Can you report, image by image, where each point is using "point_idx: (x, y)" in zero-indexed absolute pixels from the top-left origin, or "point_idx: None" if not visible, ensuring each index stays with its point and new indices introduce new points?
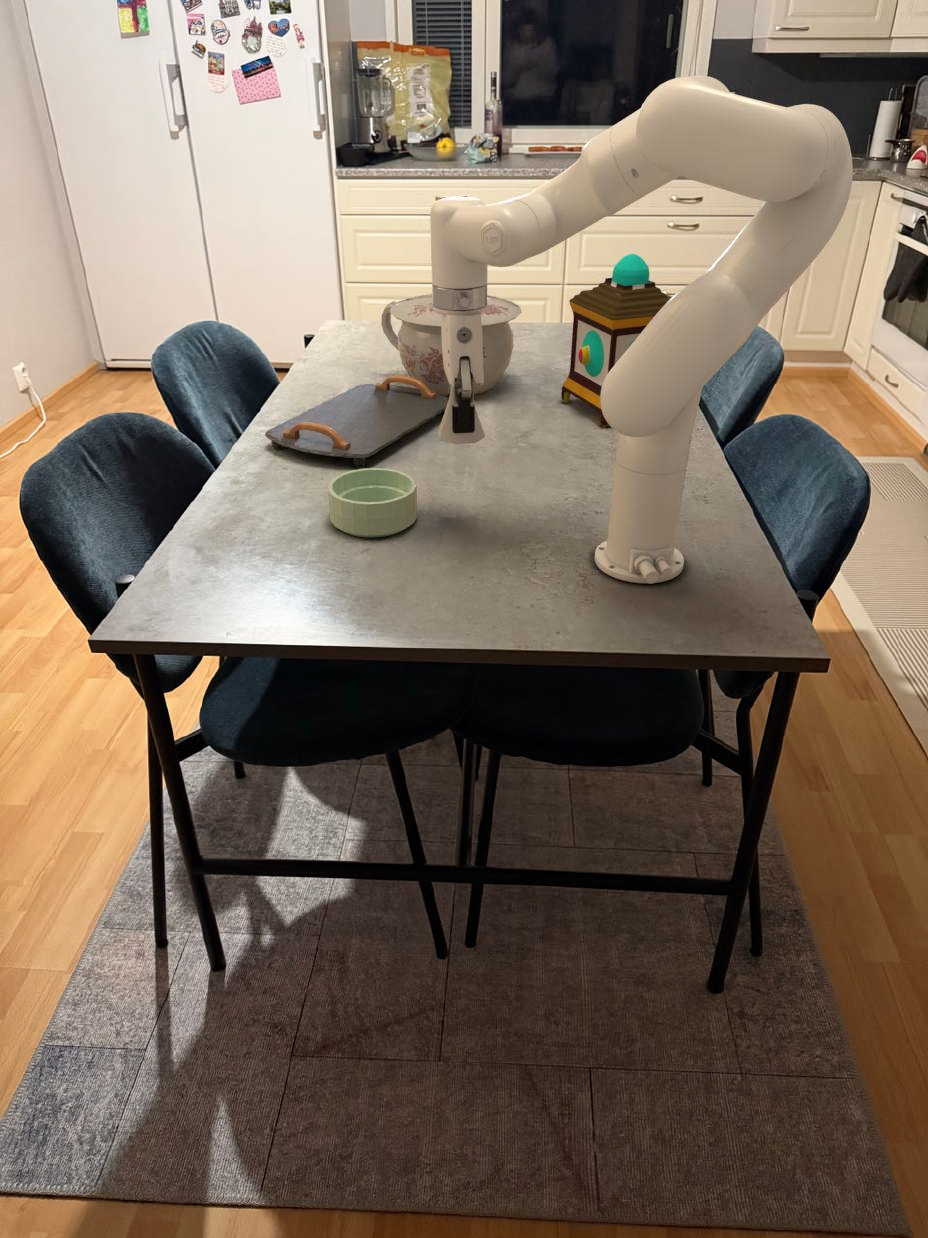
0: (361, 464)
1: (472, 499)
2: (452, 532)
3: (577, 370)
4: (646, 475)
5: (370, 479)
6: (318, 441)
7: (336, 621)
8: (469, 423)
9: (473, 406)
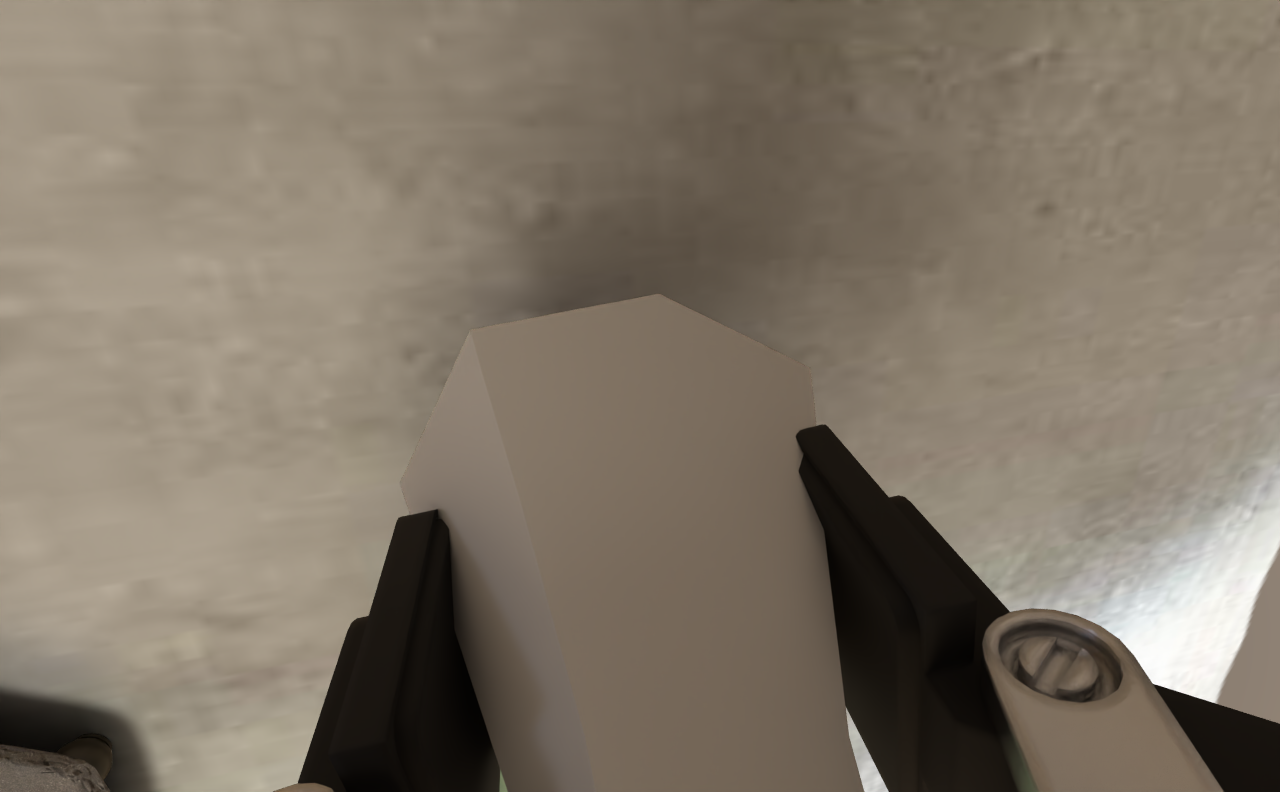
0: (104, 750)
1: (326, 250)
2: None
3: None
4: None
5: None
6: None
7: (1189, 556)
8: (918, 515)
9: (1056, 612)
